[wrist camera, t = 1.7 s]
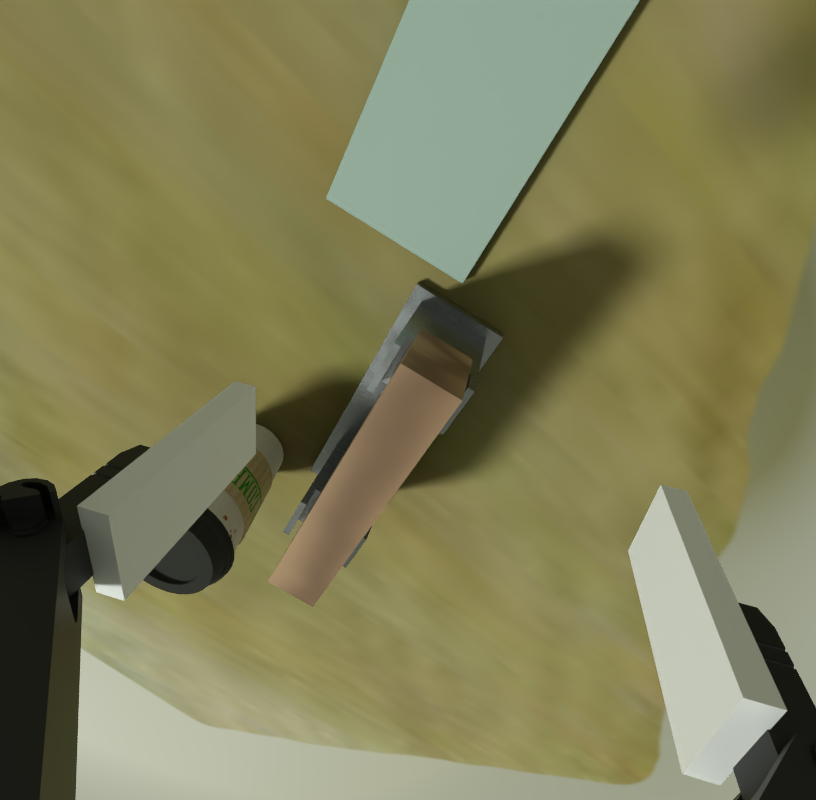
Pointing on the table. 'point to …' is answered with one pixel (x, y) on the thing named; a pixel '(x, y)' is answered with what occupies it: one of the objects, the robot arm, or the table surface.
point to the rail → (375, 464)
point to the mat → (468, 117)
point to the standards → (416, 314)
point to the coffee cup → (220, 525)
